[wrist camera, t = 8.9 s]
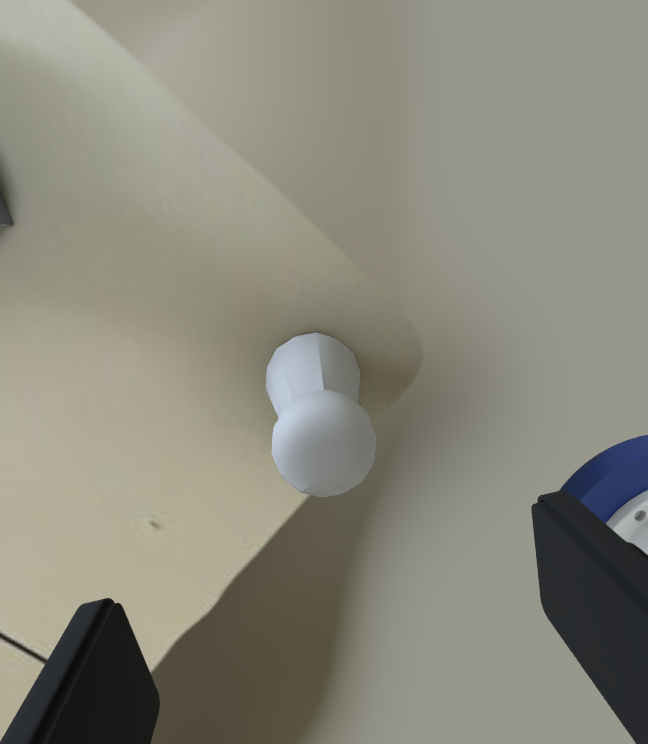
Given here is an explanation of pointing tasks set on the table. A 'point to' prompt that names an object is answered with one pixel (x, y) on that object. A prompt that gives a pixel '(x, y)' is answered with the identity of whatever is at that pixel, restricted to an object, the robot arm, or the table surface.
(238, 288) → the table surface
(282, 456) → the salt shaker
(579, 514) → the robot arm
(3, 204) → the plate
